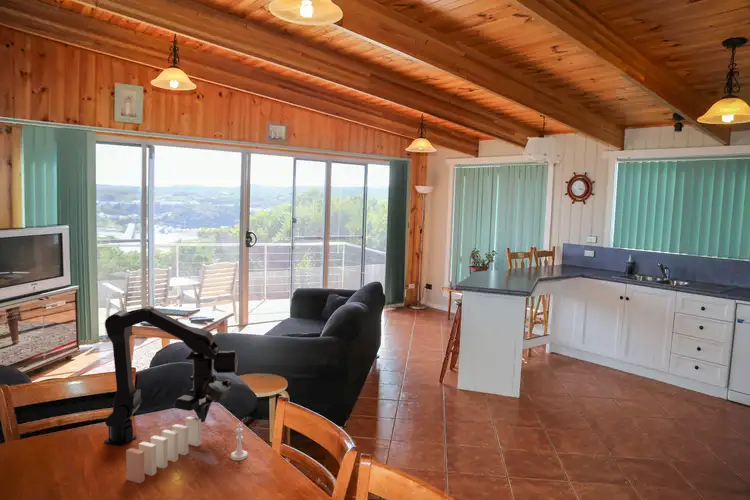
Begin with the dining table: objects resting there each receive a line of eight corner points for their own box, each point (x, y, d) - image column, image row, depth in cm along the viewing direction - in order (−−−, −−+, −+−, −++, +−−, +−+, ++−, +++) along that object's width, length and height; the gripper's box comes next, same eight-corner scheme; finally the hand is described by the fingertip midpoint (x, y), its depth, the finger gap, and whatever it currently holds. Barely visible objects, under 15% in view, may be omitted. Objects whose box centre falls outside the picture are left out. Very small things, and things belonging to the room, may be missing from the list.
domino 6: (185, 443, 159) (185, 418, 159) (189, 441, 161) (189, 416, 160) (197, 446, 158) (197, 420, 157) (201, 444, 159) (201, 418, 158)
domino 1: (126, 479, 138) (126, 450, 137) (131, 476, 139) (131, 447, 139) (139, 483, 136) (139, 453, 136) (144, 480, 138) (144, 451, 137)
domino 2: (139, 472, 142) (138, 443, 141) (143, 469, 143) (143, 441, 143) (152, 475, 140) (151, 447, 139) (156, 472, 142) (156, 444, 141)
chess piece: (243, 461, 149) (243, 427, 148) (227, 459, 150) (227, 425, 149) (250, 453, 154) (251, 420, 153) (235, 451, 155) (235, 418, 154)
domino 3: (150, 465, 146) (150, 437, 145) (155, 462, 147) (154, 435, 146) (163, 468, 144) (163, 440, 143) (167, 465, 146) (167, 438, 145)
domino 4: (161, 458, 150) (161, 431, 149) (165, 456, 151) (165, 429, 150) (174, 461, 148) (174, 434, 147) (178, 459, 149) (178, 432, 149)
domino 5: (172, 452, 153) (172, 426, 153) (176, 449, 155) (176, 423, 154) (184, 455, 152) (184, 428, 151) (188, 452, 153) (188, 426, 153)
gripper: (204, 386, 149) (204, 438, 151) (242, 367, 167) (242, 415, 168) (173, 380, 153) (173, 431, 155) (213, 363, 171) (213, 409, 172)
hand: (202, 421), depth 162 cm, fingers closed
